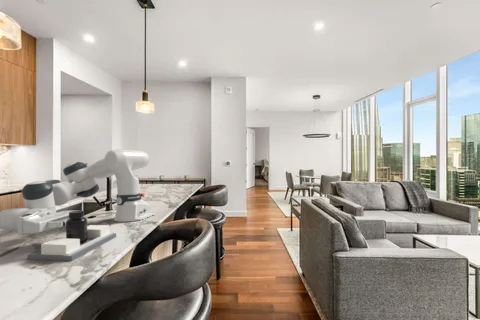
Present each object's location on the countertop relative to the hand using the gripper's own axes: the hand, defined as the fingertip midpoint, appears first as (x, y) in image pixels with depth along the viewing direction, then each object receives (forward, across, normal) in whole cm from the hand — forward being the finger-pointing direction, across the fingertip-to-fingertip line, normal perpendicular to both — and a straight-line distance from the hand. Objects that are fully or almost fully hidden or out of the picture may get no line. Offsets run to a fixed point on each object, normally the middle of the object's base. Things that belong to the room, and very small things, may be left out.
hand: (73, 220), depth 90 cm
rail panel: (+1, 0, -10) cm, 10 cm away
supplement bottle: (+1, 0, -9) cm, 9 cm away
